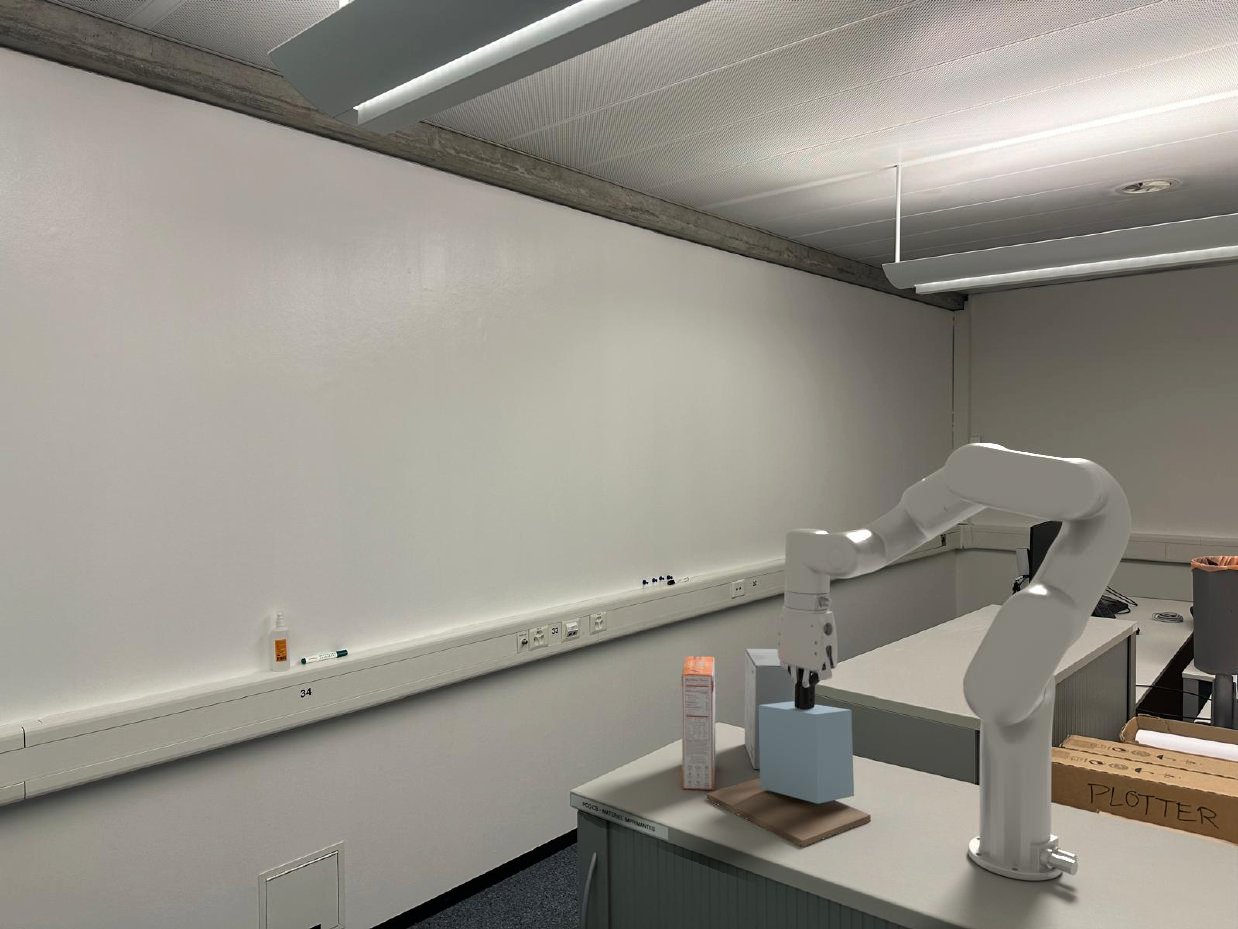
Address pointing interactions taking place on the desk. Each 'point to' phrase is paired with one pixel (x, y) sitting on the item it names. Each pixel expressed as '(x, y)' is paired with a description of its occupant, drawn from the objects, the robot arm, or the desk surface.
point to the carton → (806, 751)
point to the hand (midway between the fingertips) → (804, 707)
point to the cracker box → (698, 723)
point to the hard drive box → (762, 692)
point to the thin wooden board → (788, 812)
